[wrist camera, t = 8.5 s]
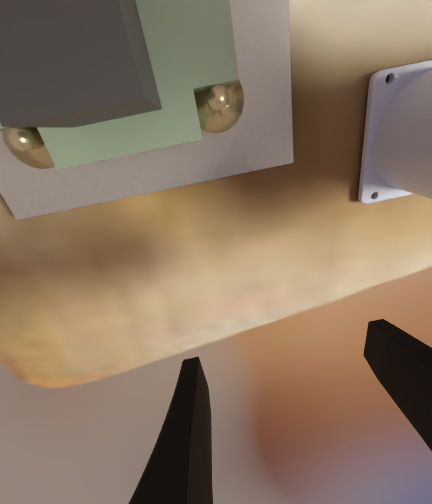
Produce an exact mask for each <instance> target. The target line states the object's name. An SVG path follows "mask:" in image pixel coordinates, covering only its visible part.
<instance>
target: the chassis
mask: <svg viewBox="0 0 432 504" xmlns="http://www.w3.org/2000/svg"><path fill="white" fill-rule="evenodd" d="M230 8H231V17H232V26H233V34H234V43H235V52H236V61H237V69H238V78H239V79H238V80H237V82H236V83H235V84H231V85H227V86H222V85H215V86H214V87H212V88H211V89H207V90H203V91H198V92H194V96H195V101H196V106H197V112H198V117H199V122H200V127H201V133H202V138H203V139H201V140H196V141H192V142H187V143H182V144H177V145H172V146H168V147H163V148H158V149H153V150H148V151H144V152H139V153H134V154H129V155H124V156H120V157H115V158H110V159H105V160H100V161H96V162H91V163H86V164H81V165H76V166H72V167H67V168H62V169H56V166H55V164H54V162H53V160H52V158H51V156H50V154H49V152H48V150H47V148H46V145H45V143H44V141H43V139H42V137H41V135H40V133H39V131H38V129H37V127H25V128H8V129H6V130H4V131H0V193H1V195H2V197H3V198H4V200H5V202H6V203H7V205H8V207H9V208H10V210H11V211H12V213H13V215H14V216H15V218H16V220H20V219H25V218H30V217H34V216H39V215H44V214H49V213H54V212H58V211H63V210H68V209H73V208H78V207H83V206H87V205H92V204H97V203H102V202H107V201H112V200H116V199H121V198H126V197H131V196H136V195H140V194H145V193H150V192H155V191H160V190H165V189H169V188H174V187H179V186H184V185H189V184H193V183H198V182H203V181H208V180H213V179H218V178H222V177H227V176H232V175H237V174H242V173H247V172H251V171H256V170H261V169H266V168H271V167H275V166H280V165H285V164H290V163H293V129H292V95H291V61H290V28H289V0H230Z"/></svg>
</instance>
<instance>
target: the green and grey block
mask: <svg viewBox="0 0 432 504" xmlns="http://www.w3.org/2000/svg"><path fill="white" fill-rule="evenodd" d="M238 79H239V78H238V69H237V61H236V52H235V43H234V34H233V26H232V17H231V8H230V0H0V131H4V130H6V129H8V128H25V127H37V129H38V131H39V133H40V135H41V137H42V139H43V141H44V143H45V145H46V148H47V150H48V152H49V154H50V156H51V158H52V160H53V162H54V164H55V166H56V169H62V168H67V167H72V166H76V165H81V164H86V163H91V162H96V161H100V160H105V159H110V158H115V157H120V156H124V155H129V154H134V153H139V152H144V151H148V150H153V149H158V148H163V147H168V146H172V145H177V144H182V143H187V142H192V141H196V140H201V139H203V138H202V133H201V127H200V122H199V117H198V112H197V106H196V101H195V96H194V92H198V91H203V90H207V89H211V88H212V87H214V86H215V85H222V86H227V85H231V84H235V83H236V82H237V80H238Z"/></svg>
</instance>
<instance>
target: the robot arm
mask: <svg viewBox="0 0 432 504" xmlns="http://www.w3.org/2000/svg"><path fill="white" fill-rule="evenodd" d="M387 75H389V78H390V79H389V82H388V83H386V76H387ZM374 192H375V194H374V196H373V197H372V198H371V196H372V194H373V193H374ZM411 194H417V195H420V196H424V197H427V198H431V199H432V60H427V61H423V62H418V63H413V64H408V65H403V66H399V67H394V68H389V69H384V70H380V71H378V72H375V73H374V74H373V75H372V77H371V79H370V82H369V91H368V101H367V111H366V122H365V132H364V142H363V153H362V163H361V173H360V184H359V194H358V200H359V201H360V202H361V203H364V204H368V203H373V202H377V201H382V200H387V199H392V198H397V197H402V196H406V195H411ZM364 357H365V359H366V360H367V362H368V364H369V365H370V367H371V369H372V370H373V372H374V374H375V375H376V377H377V379H378V380H379V381H380V383H381V384H382V386H383V387H384V388H385V390H386V391H387V392H388V393H389V395H390V396H391V398H392V399H393V400H394V402H395V403H396V404H397V405H398V407H399V408H400V409H401V411H402V412H403V413H404V415H405V416H406V417H407V419H408V420H409V421H410V423H411V424H412V425H413V427H414V428H415V429H416V431H417V432H418V433H419V434H420V436H421V437H422V438H423V440H424V441H425V443H426V444H427V445H428V447H429V448H430V449H431V451H432V348H431V347H429V346H428V345H426V344H424V343H423V342H421V341H419V340H418V339H416V338H414V337H413V336H411V335H409V334H408V333H406V332H404V331H403V330H401V329H399V328H398V327H396V326H394V325H393V324H391V323H389V322H388V321H386V320H384V319H381V320H376V321H370V322H369V323H368V330H367V336H366V342H365V349H364ZM211 442H212V441H211V408H210V399H209V389H208V385H207V381H206V378H205V375H204V372H203V369H202V366H201V363H200V360H199V357H195V358H191V359H185V360H184V361H183V362H182V366H181V370H180V374H179V378H178V381H177V385H176V388H175V392H174V395H173V398H172V401H171V404H170V407H169V410H168V412H167V415H166V419H165V421H164V424H163V426H162V429H161V432H160V434H159V437H158V439H157V442H156V444H155V447H154V449H153V452H152V454H151V457H150V459H149V461H148V463H147V466H146V468H145V470H144V472H143V475H142V477H141V479H140V481H139V483H138V486H137V488H136V490H135V492H134V494H133V496H132V498H131V500H130V502H129V504H213V494H212V451H211V450H212V446H211V444H212V443H211Z"/></svg>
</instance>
